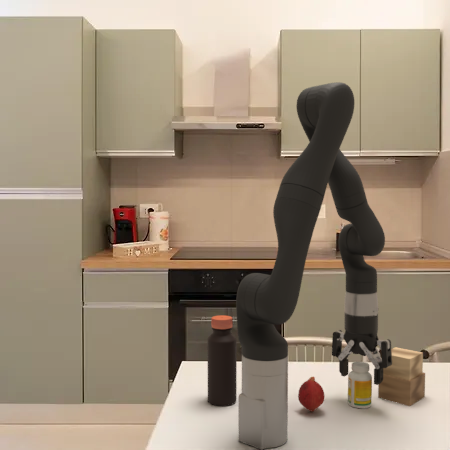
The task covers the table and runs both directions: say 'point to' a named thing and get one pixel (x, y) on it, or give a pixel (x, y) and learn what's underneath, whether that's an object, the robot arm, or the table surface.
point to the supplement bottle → (359, 385)
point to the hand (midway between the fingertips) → (360, 379)
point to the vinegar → (221, 362)
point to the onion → (311, 394)
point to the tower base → (402, 389)
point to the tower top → (405, 364)
